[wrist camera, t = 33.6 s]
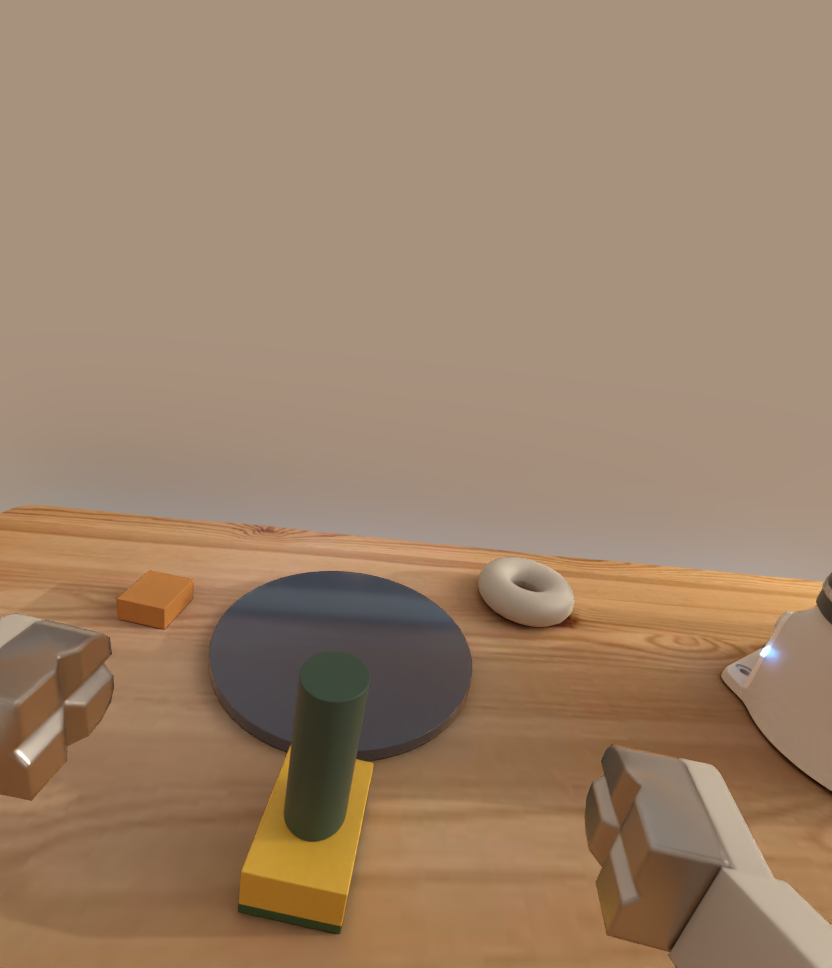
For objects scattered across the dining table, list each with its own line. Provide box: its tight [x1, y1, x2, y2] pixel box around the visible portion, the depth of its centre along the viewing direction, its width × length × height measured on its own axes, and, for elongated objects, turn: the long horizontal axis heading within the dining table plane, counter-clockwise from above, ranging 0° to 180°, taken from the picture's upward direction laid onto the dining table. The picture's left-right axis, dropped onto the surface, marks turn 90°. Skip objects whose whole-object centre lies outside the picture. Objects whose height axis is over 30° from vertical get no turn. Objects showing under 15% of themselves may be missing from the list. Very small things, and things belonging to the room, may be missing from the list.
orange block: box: [117, 570, 194, 629], centre depth 42 cm, size 4×4×2 cm
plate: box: [209, 571, 472, 761], centre depth 42 cm, size 21×21×1 cm
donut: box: [478, 557, 575, 627], centre depth 53 cm, size 10×3×10 cm
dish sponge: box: [238, 651, 374, 934], centre depth 25 cm, size 7×5×12 cm
